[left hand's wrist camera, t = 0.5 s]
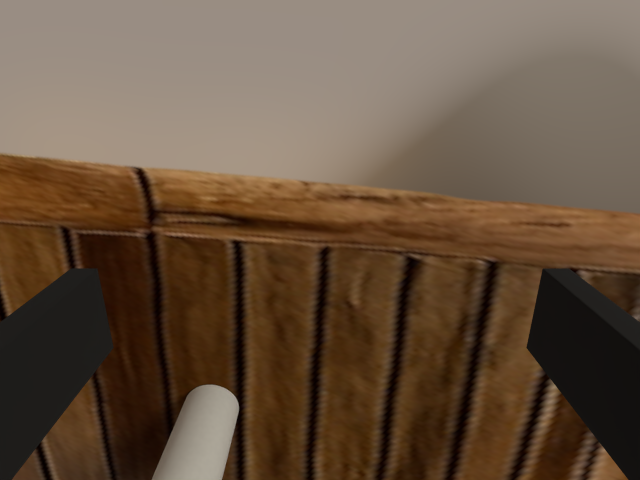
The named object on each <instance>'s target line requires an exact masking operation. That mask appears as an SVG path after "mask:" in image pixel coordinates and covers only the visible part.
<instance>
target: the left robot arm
mask: <svg viewBox="0 0 640 480" xmlns="http://www.w3.org/2000/svg"><path fill="white" fill-rule="evenodd" d="M112 349H113V343H112V338H111V334H110V329H109V324H108V319H107V314H106V309H105V304H104V299H103V295H102V290H101V285H100V280H99V275H98V270H97V269H70V270H69V271H67V272H66V273H65V274H63V275H62V276H61V277H60V278H58V279H57V280H56V281H54V282H53V283H52V284H50V285H49V286H48V287H46V288H45V289H44V290H42V291H41V292H40V293H38V294H37V295H36V296H34V297H33V298H32V299H30V300H29V301H28V302H26V303H25V304H24V305H23V306H21V307H20V308H19V309H17V310H16V311H15V312H13V313H12V314H11V315H9V316H8V317H7V318H5V319H4V320H3V321H1V322H0V480H12V478H13V477H14V476H15V474H16V473H17V472H18V471H19V469H20V468H21V467H22V465H23V464H24V463H25V462H26V460H27V459H28V458H29V456H30V455H31V454H32V452H33V451H34V450H35V449H36V447H37V446H38V445H39V443H40V442H41V441H42V440H43V438H44V437H45V436H46V434H47V433H48V432H49V430H50V429H51V428H52V427H53V425H54V424H55V423H56V421H57V420H58V419H59V418H60V416H61V415H62V414H63V412H64V411H65V410H66V408H67V407H68V406H69V405H70V403H71V402H72V401H73V399H74V398H75V397H76V396H77V394H78V393H79V392H80V390H81V389H82V388H83V386H84V385H85V384H86V383H87V381H88V380H89V379H90V377H91V376H92V375H93V374H94V372H95V371H96V370H97V368H98V367H99V366H100V364H101V363H102V362H103V361H104V359H105V358H106V357H107V355H108V354H109V353H110V352H111V350H112ZM527 349H528V350H529V352H530V353H531V354H532V355H533V357H534V358H535V359H536V361H537V362H538V363H539V364H540V366H541V367H542V368H543V370H544V371H545V372H546V374H547V375H548V376H549V377H550V379H551V380H552V381H553V383H554V384H555V385H556V386H557V388H558V389H559V390H560V392H561V393H562V394H563V396H564V397H565V398H566V399H567V401H568V402H569V403H570V405H571V406H572V407H573V408H574V410H575V411H576V412H577V414H578V415H579V416H580V418H581V419H582V420H583V421H584V423H585V424H586V425H587V427H588V428H589V429H590V430H591V432H592V433H593V434H594V436H595V437H596V438H597V440H598V441H599V442H600V443H601V445H602V446H603V447H604V449H605V450H606V451H607V452H608V454H609V455H610V456H611V458H612V459H613V460H614V462H615V463H616V464H617V465H618V467H619V468H620V469H621V471H622V472H623V473H624V474H625V476H626V477H627V478H628V480H640V322H639V321H637V320H636V319H635V318H633V317H632V316H631V315H629V314H628V313H627V312H625V311H624V310H623V309H621V308H620V307H619V306H617V305H616V304H615V303H614V302H612V301H611V300H610V299H608V298H607V297H606V296H604V295H603V294H602V293H600V292H599V291H598V290H596V289H595V288H594V287H592V286H591V285H590V284H588V283H587V282H586V281H584V280H583V279H582V278H580V277H579V276H578V275H577V274H575V273H574V272H573V271H571V270H570V269H543V270H542V275H541V280H540V285H539V290H538V295H537V299H536V304H535V309H534V314H533V319H532V324H531V329H530V334H529V338H528V343H527Z"/></svg>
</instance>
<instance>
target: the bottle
mask: <svg viewBox="0 0 640 480" xmlns="http://www.w3.org/2000/svg"><path fill="white" fill-rule="evenodd" d="M238 412H239V404H238V401H237V399H236V397H235V396H234V395H233V394H232V393H231V392H230V391H229V390H227V389H225V388H223V387H221V386H217V385H202V386H199V387H197V388H195V389H193V390H192V391H191V392H190V393H189V394H188V395H187V397H186V400H185V402H184V404H183V407H182V409H181V411H180V414H179V416H178V419H177V421H176V423H175V426H174V428H173V430H172V433H171V435H170V438H169V440H168V442H167V445H166V447H165V449H164V452H163V454H162V457H161V459H160V461H159V464H158V466H157V468H156V471H155V473H154V476H153V478H152V480H222V477H223V473H224V469H225V465H226V461H227V457H228V453H229V449H230V445H231V440H232V436H233V432H234V428H235V424H236V420H237V416H238Z"/></svg>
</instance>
